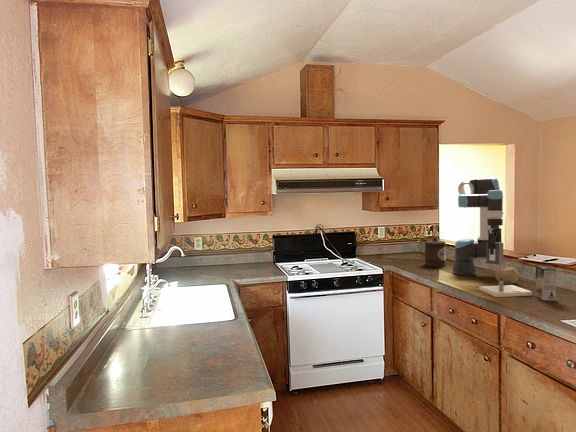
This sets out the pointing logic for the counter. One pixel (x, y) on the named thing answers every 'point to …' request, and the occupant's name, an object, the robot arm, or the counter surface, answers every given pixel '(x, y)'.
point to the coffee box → (546, 282)
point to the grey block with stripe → (498, 253)
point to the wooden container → (435, 253)
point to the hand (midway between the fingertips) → (494, 259)
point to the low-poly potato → (507, 275)
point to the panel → (505, 290)
